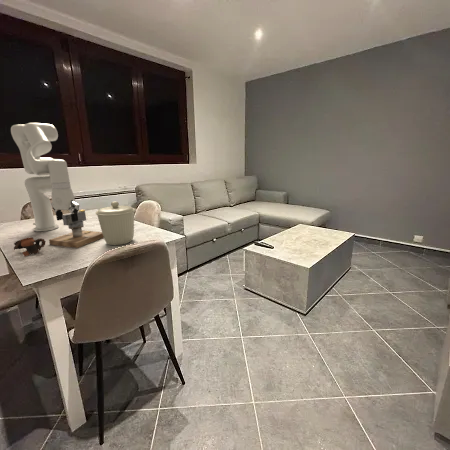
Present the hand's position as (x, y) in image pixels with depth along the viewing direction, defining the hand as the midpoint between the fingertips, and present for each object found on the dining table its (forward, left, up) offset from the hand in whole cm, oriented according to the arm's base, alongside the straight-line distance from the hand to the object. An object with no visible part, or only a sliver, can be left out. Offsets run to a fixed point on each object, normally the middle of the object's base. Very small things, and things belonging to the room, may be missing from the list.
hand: (67, 220), depth 124 cm
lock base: (0, +4, -12) cm, 12 cm away
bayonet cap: (0, +4, -5) cm, 6 cm away
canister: (+23, +8, -12) cm, 27 cm away
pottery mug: (-7, -16, -12) cm, 21 cm away
